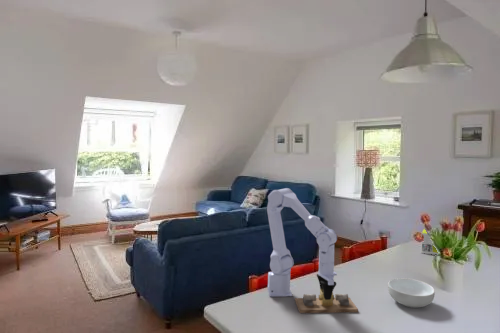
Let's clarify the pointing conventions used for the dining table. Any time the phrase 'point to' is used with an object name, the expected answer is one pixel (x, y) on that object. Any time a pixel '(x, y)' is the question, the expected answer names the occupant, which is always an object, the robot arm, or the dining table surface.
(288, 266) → the robot arm
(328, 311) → the shaft stand
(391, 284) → the cereal bowl
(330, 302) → the block
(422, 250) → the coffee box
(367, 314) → the dining table surface
